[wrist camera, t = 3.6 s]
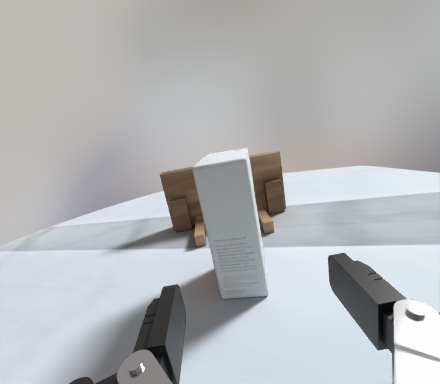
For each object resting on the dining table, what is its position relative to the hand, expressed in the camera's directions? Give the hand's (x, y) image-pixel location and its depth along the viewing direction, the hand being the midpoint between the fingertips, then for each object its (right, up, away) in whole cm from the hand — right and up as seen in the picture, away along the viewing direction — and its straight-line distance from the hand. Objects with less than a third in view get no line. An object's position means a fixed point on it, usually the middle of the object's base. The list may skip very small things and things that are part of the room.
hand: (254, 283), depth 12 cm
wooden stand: (0, 0, +22) cm, 22 cm away
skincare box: (+1, -4, +11) cm, 11 cm away
